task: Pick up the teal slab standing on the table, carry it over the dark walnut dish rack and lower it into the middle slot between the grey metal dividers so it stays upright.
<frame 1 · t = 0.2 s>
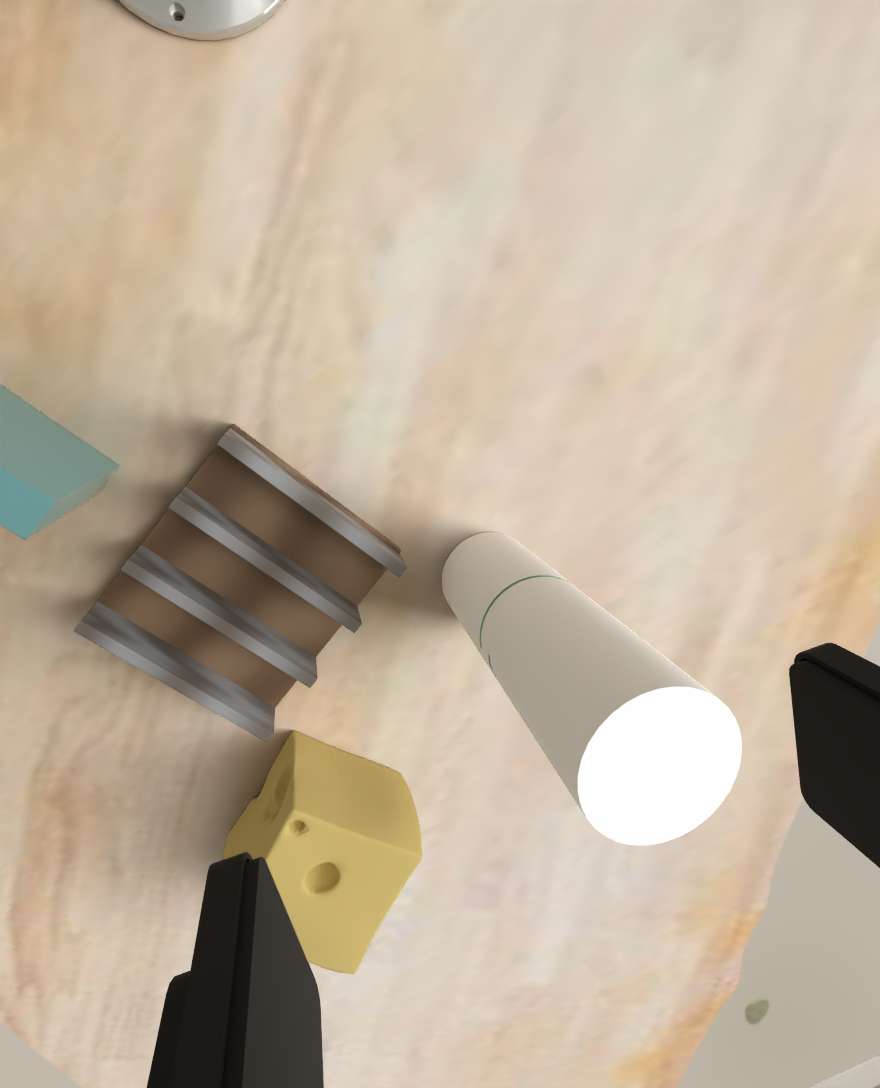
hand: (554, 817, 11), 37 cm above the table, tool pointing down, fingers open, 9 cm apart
teal slab: (19, 420, 40), on the table
cylindrical container: (486, 577, 50), on the table
rack: (251, 575, 46), on the table
cheese: (319, 798, 52), on the table
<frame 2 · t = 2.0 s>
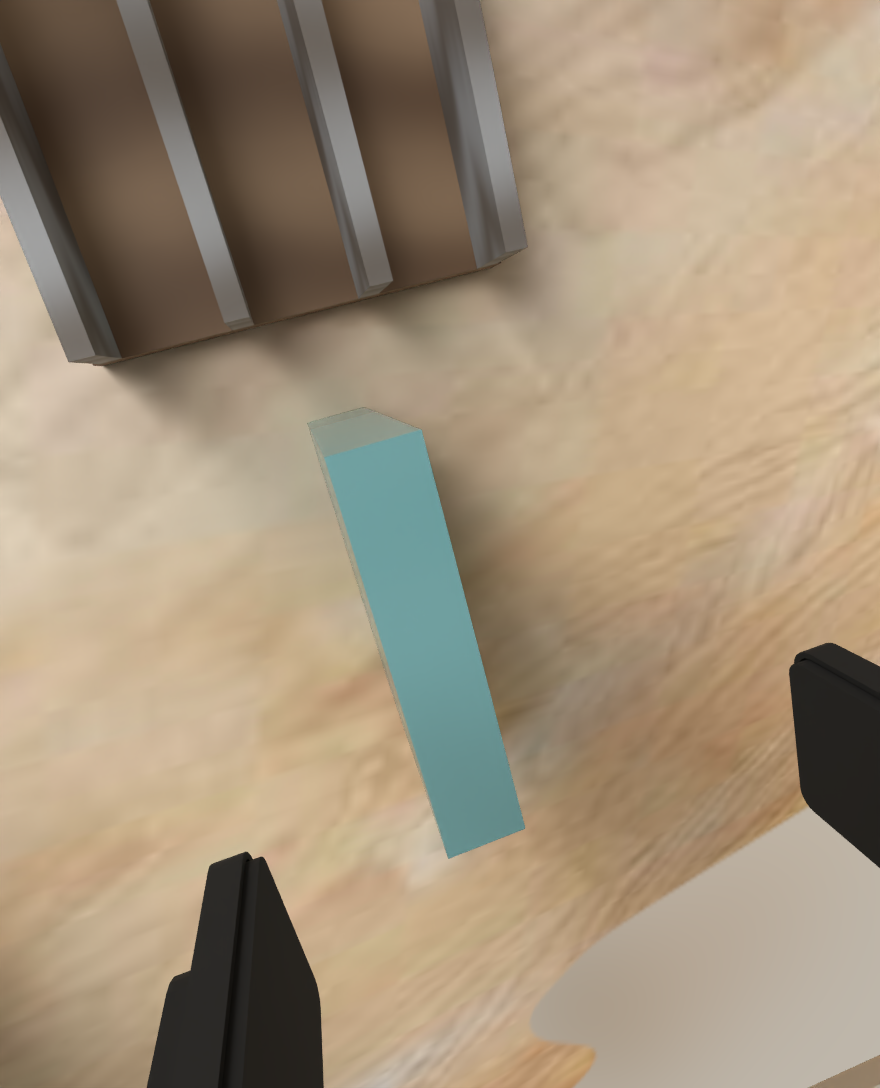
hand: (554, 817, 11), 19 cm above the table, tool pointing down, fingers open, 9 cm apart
teal slab: (375, 549, 29), on the table
rack: (246, 114, 24), on the table
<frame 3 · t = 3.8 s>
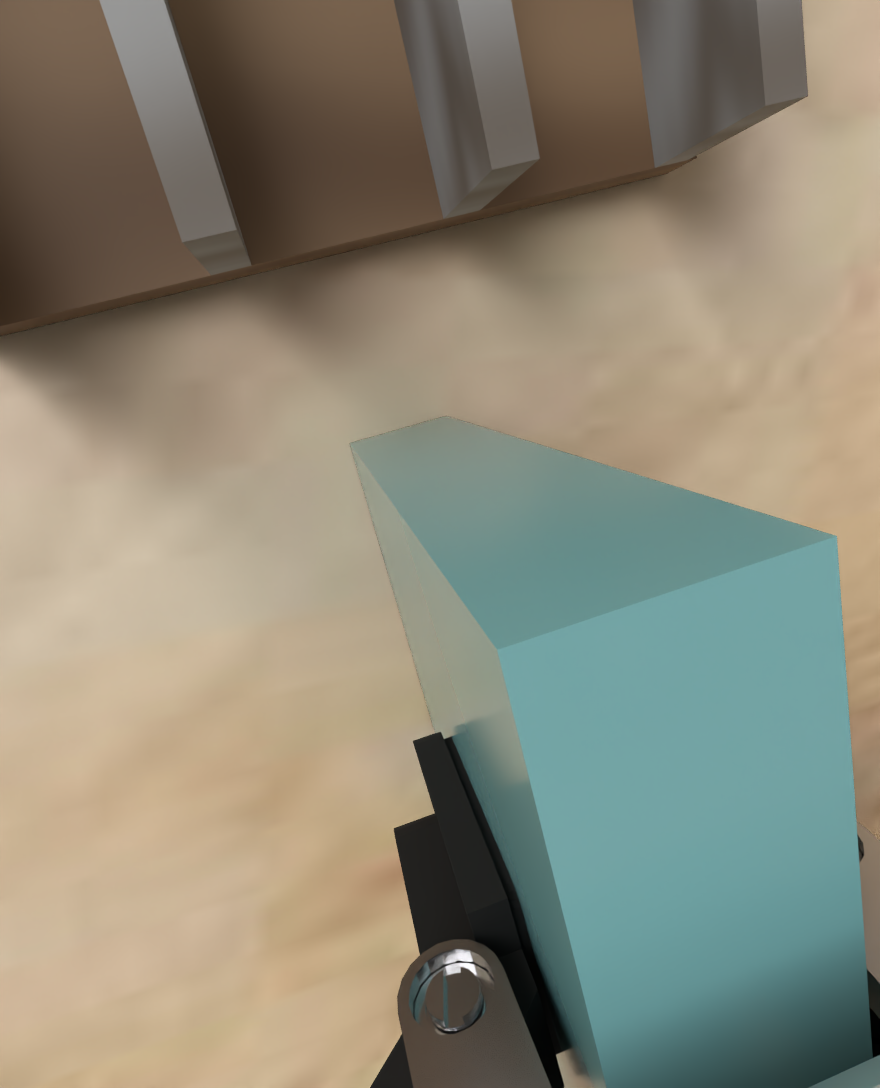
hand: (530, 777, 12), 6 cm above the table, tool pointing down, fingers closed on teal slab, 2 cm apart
teal slab: (458, 650, 17), on the table, touching gripper
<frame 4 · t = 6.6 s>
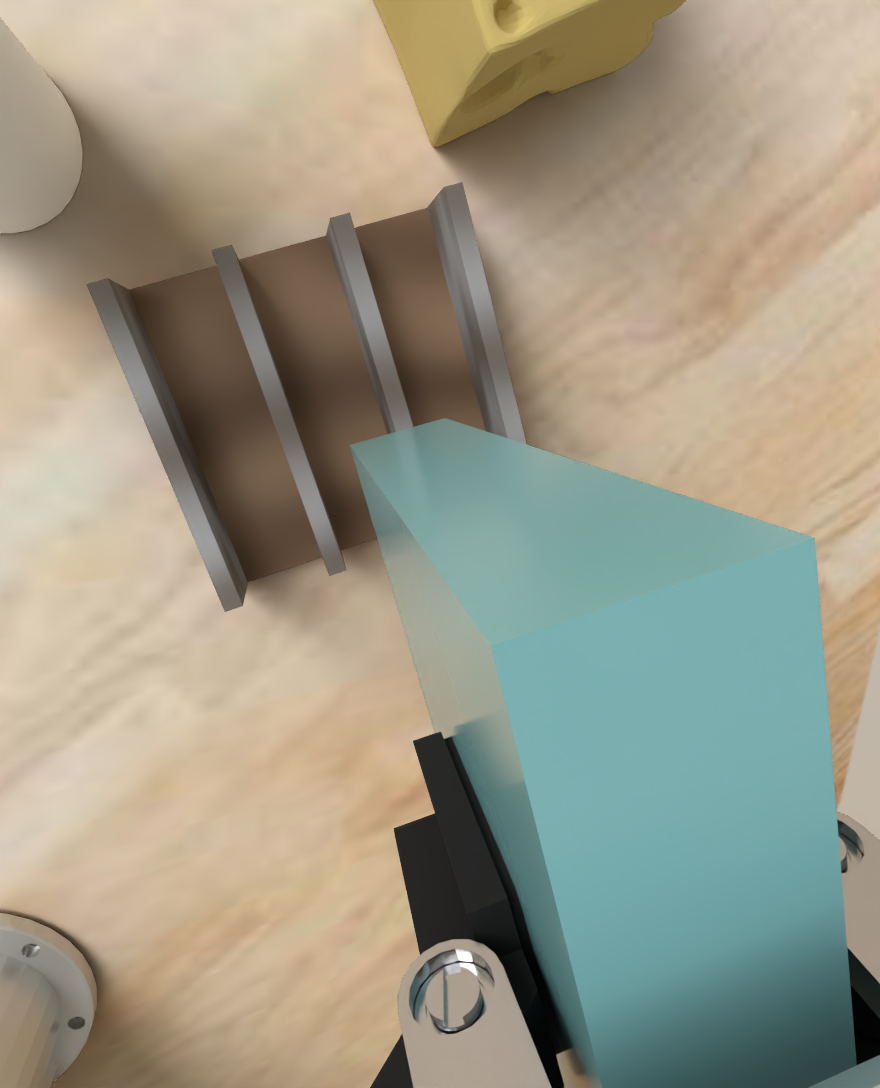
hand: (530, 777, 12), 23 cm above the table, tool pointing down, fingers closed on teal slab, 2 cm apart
teal slab: (456, 649, 18), point 18 cm above the table, touching gripper
rack: (332, 401, 32), on the table
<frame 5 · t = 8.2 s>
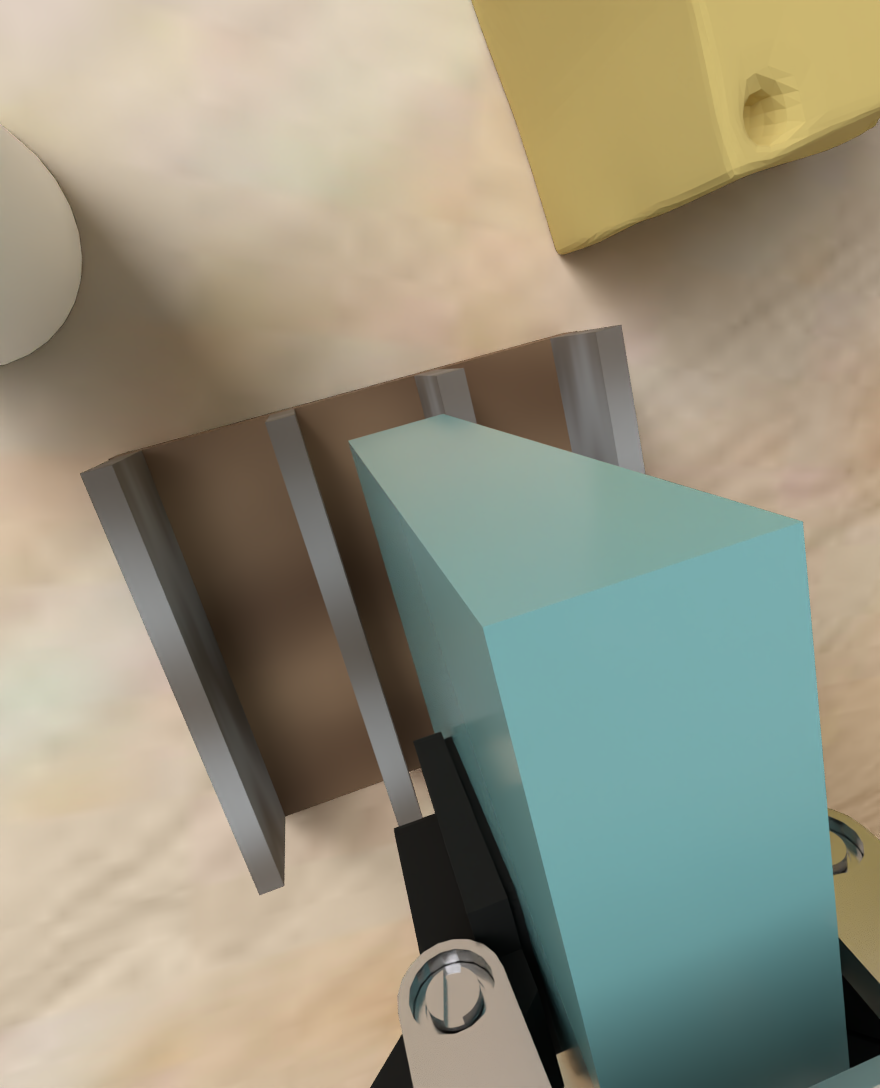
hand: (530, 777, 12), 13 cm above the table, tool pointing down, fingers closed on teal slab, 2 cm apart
teal slab: (455, 645, 18), point 7 cm above the table, touching gripper
rack: (405, 578, 24), on the table
cheese: (629, 57, 22), on the table
when the fingers open (8 cm above the table, at t = 9.4 s): teal slab stays where it is, resting on rack.
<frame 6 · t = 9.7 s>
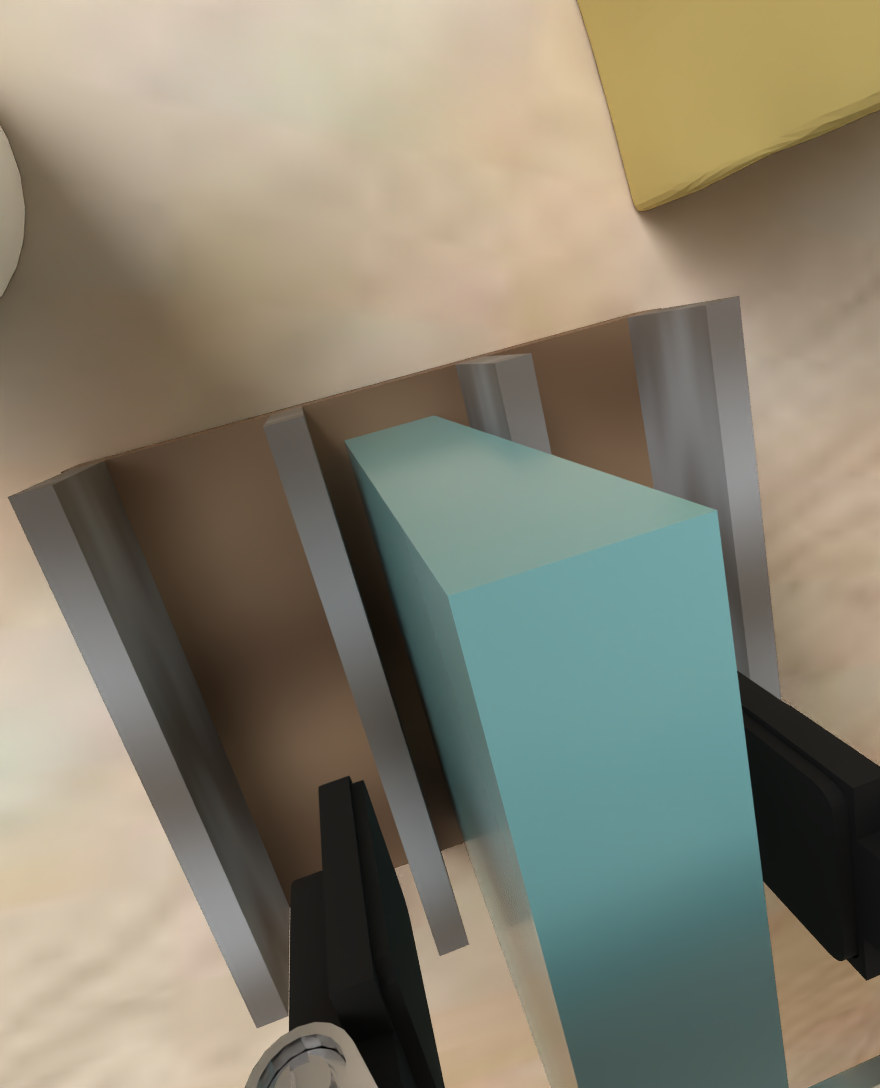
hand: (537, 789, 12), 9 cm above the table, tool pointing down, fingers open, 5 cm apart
teal slab: (445, 635, 19), point 1 cm above the table, touching rack
rack: (438, 616, 20), on the table
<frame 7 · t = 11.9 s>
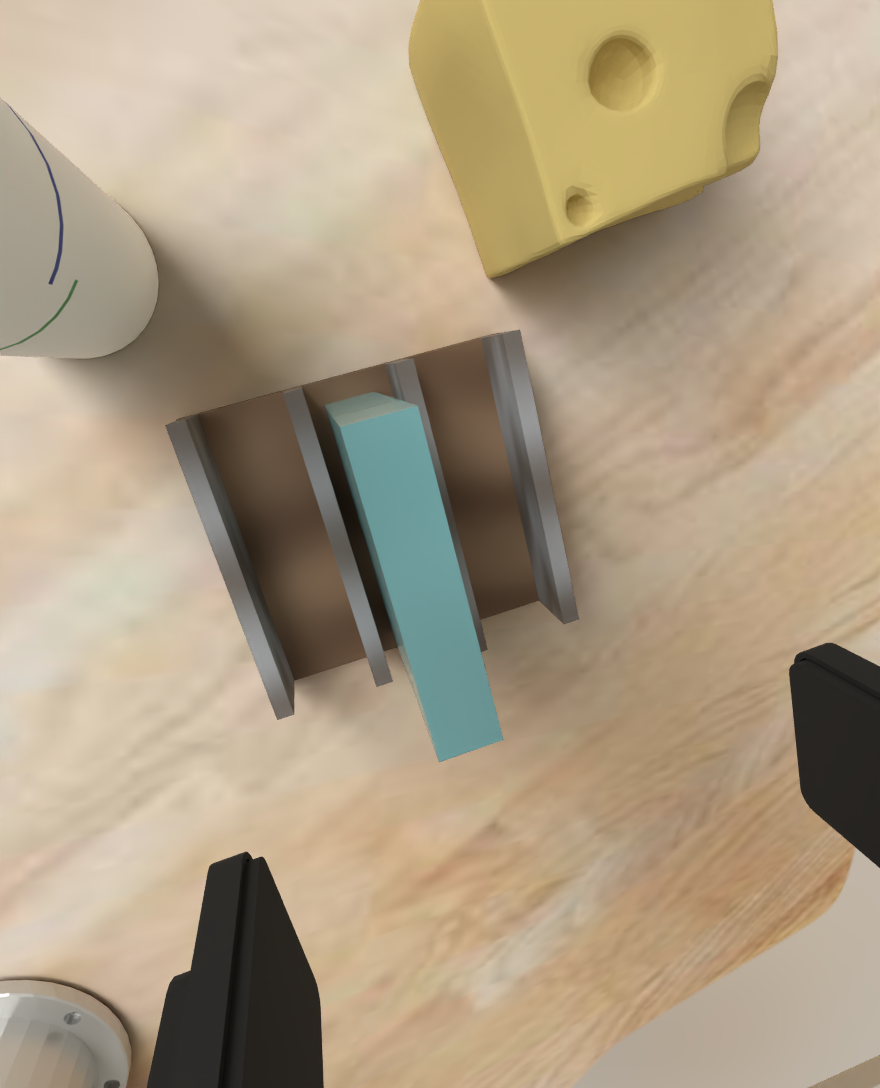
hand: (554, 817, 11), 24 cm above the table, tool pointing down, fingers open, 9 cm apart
teal slab: (383, 517, 33), point 1 cm above the table, touching rack
cylindrical container: (71, 273, 28), on the table
rack: (381, 510, 34), on the table
cheese: (537, 139, 31), on the table
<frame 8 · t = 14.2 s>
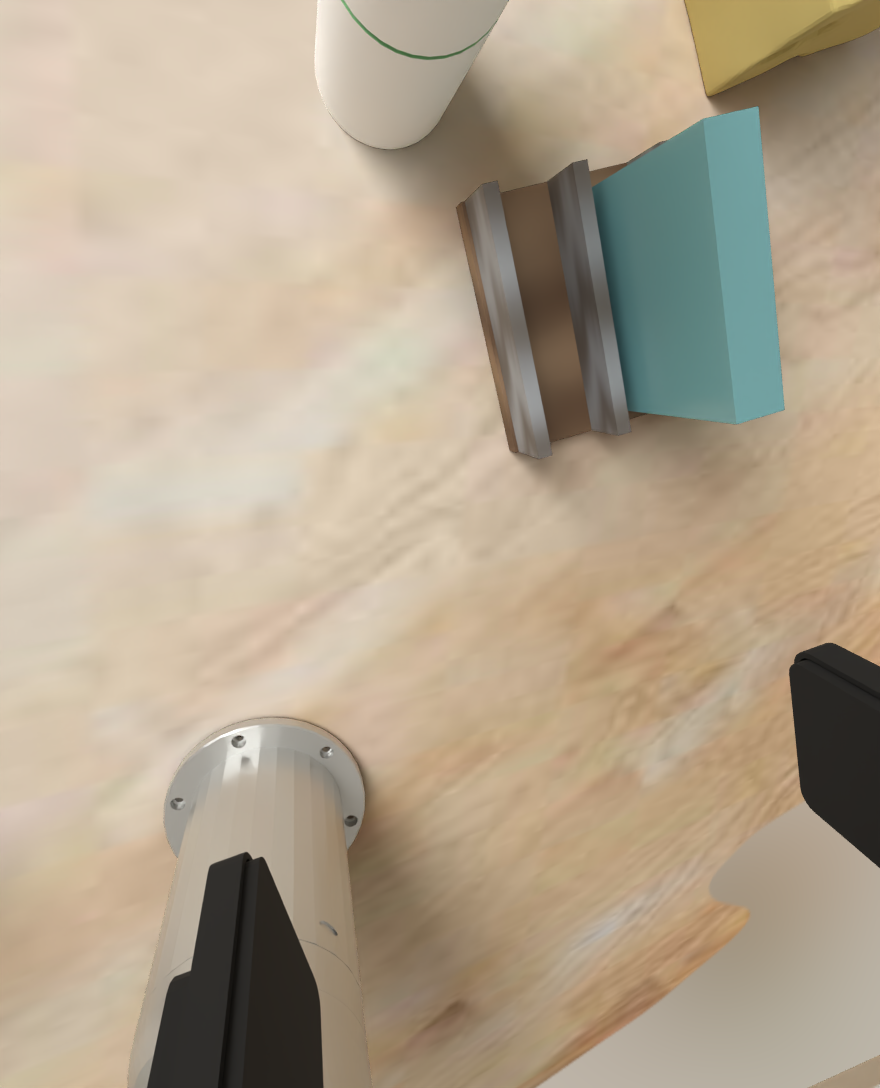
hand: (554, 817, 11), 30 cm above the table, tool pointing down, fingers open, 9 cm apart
teal slab: (613, 302, 38), point 1 cm above the table, touching rack
cylindrical container: (383, 73, 34), on the table
rack: (605, 302, 40), on the table
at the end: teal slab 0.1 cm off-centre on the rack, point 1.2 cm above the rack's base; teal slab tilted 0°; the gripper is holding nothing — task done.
